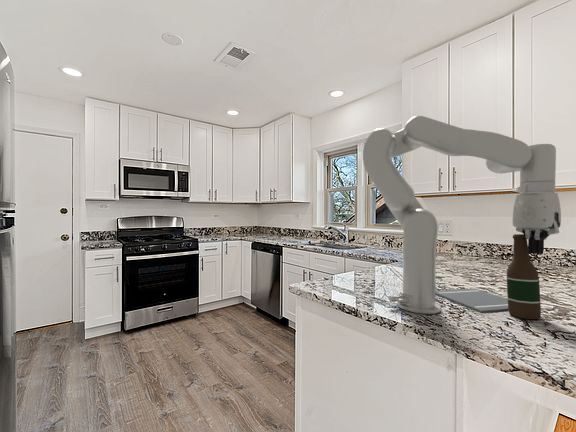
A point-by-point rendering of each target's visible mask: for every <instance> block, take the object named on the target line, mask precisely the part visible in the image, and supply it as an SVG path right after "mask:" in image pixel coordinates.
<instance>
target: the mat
mask: <svg viewBox="0 0 576 432" xmlns="http://www.w3.org/2000/svg"><path fill="white" fill-rule="evenodd" d="M435 296H439V297H441V298H443V299H446V300H449V301H450V302H453V303H456V304H458V305H461V306H463V307H465V308H468V309H470V310H474V311H476V312H479V313H480V314H481V313H493V312H505V311H507V312H509V310H508V297H507V298H506V297H503V296H500V295H498V294H493V293H490V292H487V291H483V290H482V289H481V290H480V289H478V288H464V289H463V288H459V289H458V288H457V289H443V290H441V289H440V290H435Z"/></svg>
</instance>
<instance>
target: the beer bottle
mask: <svg viewBox="0 0 576 432" xmlns="http://www.w3.org/2000/svg"><path fill="white" fill-rule="evenodd" d="M512 239H513V253H512V254H513V257H512V261H511V262H510V263H509V264H508V266H507V269H506V290H507V291H506V293H507V295H506V296H507V299H508V310H509V311H508V314H509V315H510V316H513V317H516V318H518V319H519V318H520V319H528V320H539V319H541V318H542V317H541V315H542V314H541V313H542V310H541V309H542V308H541V307H542V305H541V290H540V289H541V287H540V277H539V276H540V275H539V273H538V270H537V268H536V267H535V266H534V264H533V263H532V262H531V258H530V253H528V239H526V236H525V235H524V234H523V233H519V234H518V233H517V234H516V233H514V234H513V235H512Z"/></svg>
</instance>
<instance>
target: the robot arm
mask: <svg viewBox="0 0 576 432" xmlns="http://www.w3.org/2000/svg"><path fill="white" fill-rule="evenodd" d="M364 142H365V143H364V146H363V150H362V161H363V162H362V163H363V167H364V169H365V171H366V174H367V175H368V176H369V178H370V180H371V181H372V183H373V184H374V186H375V188H376V189H377V190H378V192H379V193H380V195H381V196H382V198H383V200H384V203H385V205H386V206H387V208H388V210H389V211H390V212H391V214H392V215H393V217H394V218H395V220H397V222H398V223H399V225H400V226H401V228H402V229H403V237H402V238H403V243H402V245H403V246H402V291H399V294H397V295H389V296H388V301H389V302H390V303H393V302H394V303H395V302H397V306H398V307H399V309H402V310H404V311H407V312H410V313H416V314H421V315H422V314H424V315H431V314H432V315H433V314H438V313H440V312H441V310H442V307H441V305H440V304H439V303H436V294H435V291H437V290H436V288H437V287H436V285H437V284H436V280H437V279H436V278H437V274H436V273H437V257H436V255H437V239H438V231H439V230H438V229H439V225H438V221H437V220H438V219H437V218H436V216H435V215H434V214H433V213H432V212H431V211H430V210H427V209H426V208H424V207H423V206H422V204H421V203H420V202H419V200H418V199H417V198H416V197H415V191H414V190H413V188H412V187H411V185H410V184H409V183H408V182H407V181H406V179H405V178H404V177H403V176H402V174H401V173H400V172H399V170H398V168H397V167H396V166H395V164H394V163H393V161H392V159H393V158H396V157H398V156H401V155H404V154H407V153H409V152H413V151H415V150H417V149H419V148H421V147H423V148H425V149H429V150H432V151H434V152H437V153H440V154H442V155H445V156H449V157H466V156H467V157H473V158H474V157H476V158H479V159H483V160H485V165H486V168H487V169H488V170H489V171H491V172H493V173H494V174H499V175H500V174H507V173H508V174H509V173H514V172H515V173H516V172H520V173H519V174H520V175H519V186H517V189H516V190H517V192H519V194H516V197H515V201H514V204H513V209H512V210H513V212H512V227H514V228H515V231H516V232H518V233H520V234H524V235H525V236H526V239H527V244H528V253H529V254H533V255H543V254H544V249H545V245H544V244H545V240H547V239H548V238H549V237H550V236H551V235H558V234H559V233H560V229H559V228H560V227H561V224H562V211H561V209H562V208H561V202H560V197H559V194H558V192H556V170H557V169H556V168H557V167H556V166H557V163H556V162H557V161H556V160H557V158H556V157H557V148H556V146H555V145H553V144H551V143H537V144H532V145H529V144H527V143H525V142H523V141H522V140H519V139H517V138H514V137H510V136H507V135H505V134H500V133H497V132H492V131H486V130H476V129H471V128H470V129H468V128H461V127H458V126H456V125H451V124H449V123H446V122H442V121H440V120H436V119H433V118H431V117H429V116H428V117H427V116H424V115H416V116H413V117H411V118H410V119H409V120H408V121H407V122H406V123H405V125H404V127H403V128H402V129H400V130H397V131H395V132H392V131H390V130H389V129H387V128H383V127H381V128H376V129H375V130H373V131H372V132H371V133H370V134H369V135H368V137H367V138H366V141H364Z"/></svg>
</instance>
